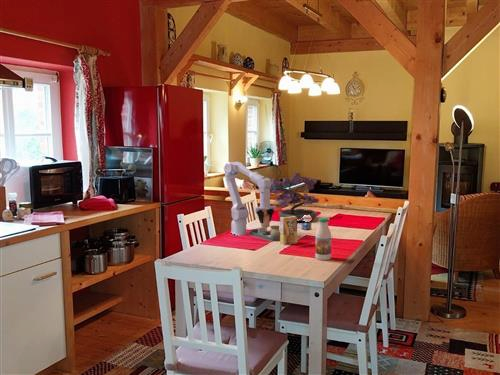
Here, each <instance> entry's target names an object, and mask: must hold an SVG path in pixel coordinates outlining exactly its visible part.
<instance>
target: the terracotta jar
mask: <svg viewBox="0 0 500 375" xmlns="http://www.w3.org/2000/svg"><path fill="white" fill-rule="evenodd" d="M270 223H271V222H270V214H267V213H264V216H263V223H260V228H261V227H267V228H269V227H270V228H271V226H270Z"/></svg>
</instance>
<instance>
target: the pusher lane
mask: <svg viewBox="0 0 500 375" xmlns="http://www.w3.org/2000/svg"><path fill="white" fill-rule="evenodd" d="M258 228H259V227H257V228H253V229H249V230H250V233H249V236H251V237H255V238H258V239H261V240H264V241H268V242H277V241H280V233H279V234H277V235H272V237H271V231H269V230H267V234H265V235H262V234H258Z"/></svg>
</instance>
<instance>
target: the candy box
mask: <svg viewBox="0 0 500 375" xmlns="http://www.w3.org/2000/svg"><path fill="white" fill-rule="evenodd" d="M279 234H280V240H279V241H280V242H279V244H281V245H283V246H284V245H285V246H286V245H294V244H297V243H298V222H297V217H295V216H290V217H280V218H279Z"/></svg>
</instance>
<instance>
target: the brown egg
mask: <svg viewBox="0 0 500 375" xmlns="http://www.w3.org/2000/svg"><path fill="white" fill-rule="evenodd" d="M270 232H271V237H272V235H277V234H280V225H271V226H270Z"/></svg>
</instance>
